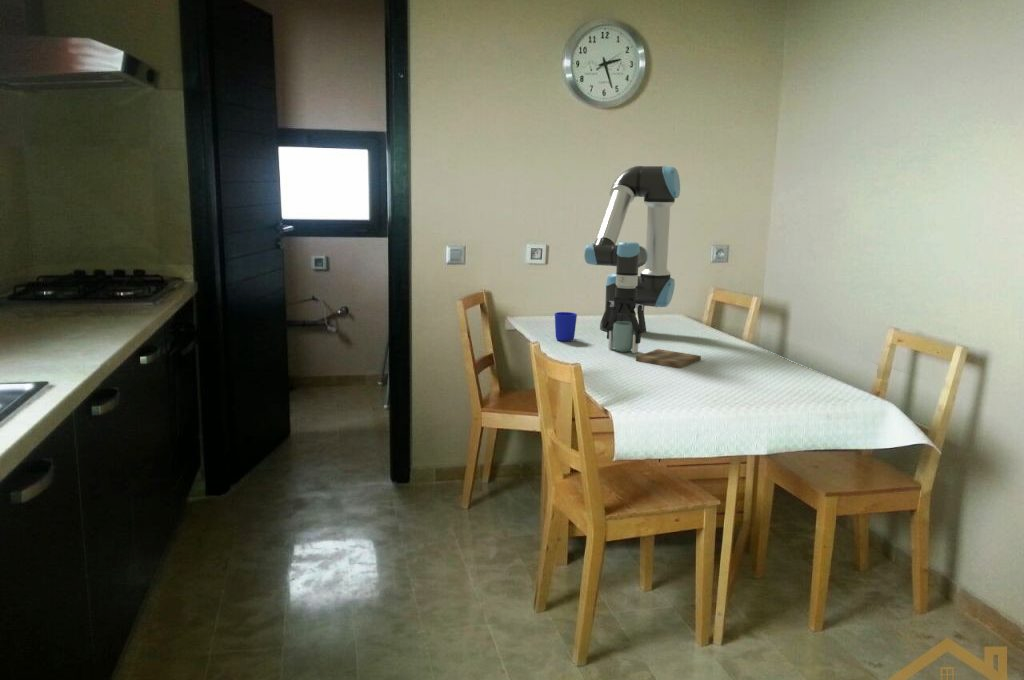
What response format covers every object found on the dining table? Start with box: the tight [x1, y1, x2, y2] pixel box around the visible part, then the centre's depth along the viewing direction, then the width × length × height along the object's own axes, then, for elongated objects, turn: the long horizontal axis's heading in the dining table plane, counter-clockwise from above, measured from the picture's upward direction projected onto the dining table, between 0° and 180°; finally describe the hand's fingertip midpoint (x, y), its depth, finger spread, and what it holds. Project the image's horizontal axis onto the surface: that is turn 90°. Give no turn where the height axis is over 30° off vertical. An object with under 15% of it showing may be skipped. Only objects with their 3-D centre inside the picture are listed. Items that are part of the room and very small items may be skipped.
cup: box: [613, 321, 635, 353], centre depth 281 cm, size 8×8×10 cm
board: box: [635, 348, 702, 369], centre depth 268 cm, size 16×16×2 cm
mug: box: [554, 311, 578, 342], centre depth 300 cm, size 8×12×10 cm
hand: (622, 350), depth 282 cm, fingers open, 9 cm apart
